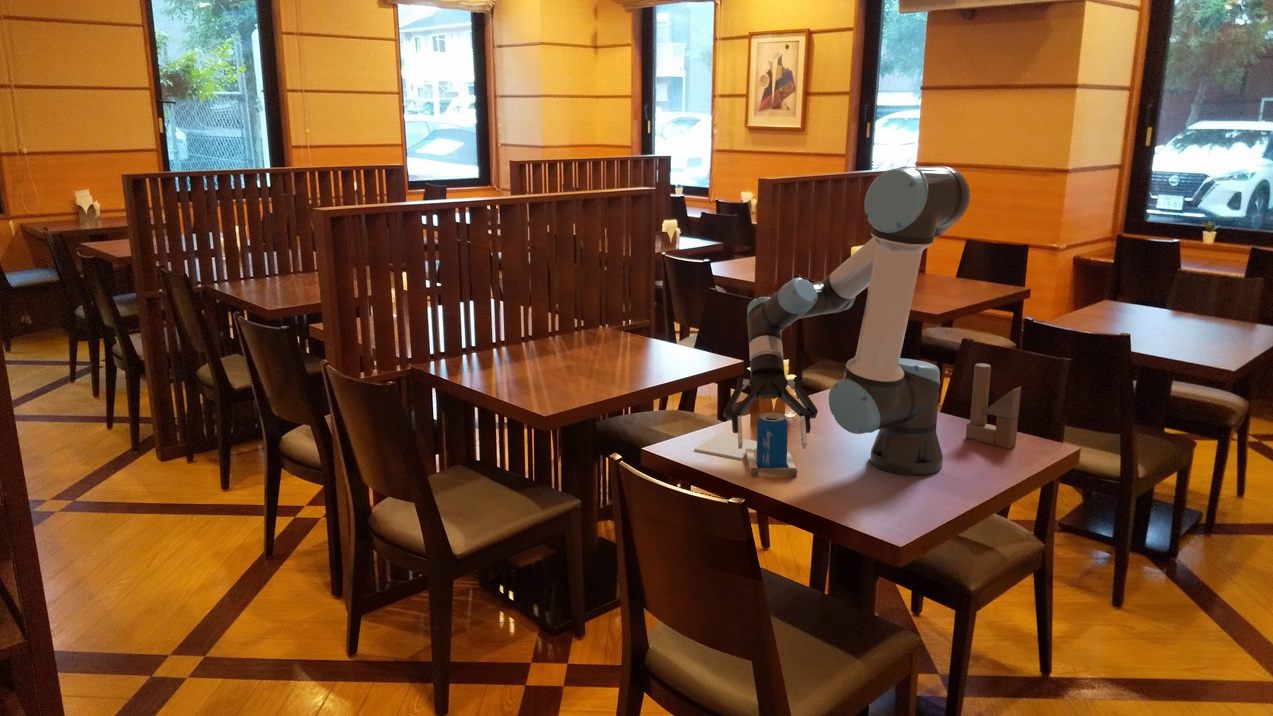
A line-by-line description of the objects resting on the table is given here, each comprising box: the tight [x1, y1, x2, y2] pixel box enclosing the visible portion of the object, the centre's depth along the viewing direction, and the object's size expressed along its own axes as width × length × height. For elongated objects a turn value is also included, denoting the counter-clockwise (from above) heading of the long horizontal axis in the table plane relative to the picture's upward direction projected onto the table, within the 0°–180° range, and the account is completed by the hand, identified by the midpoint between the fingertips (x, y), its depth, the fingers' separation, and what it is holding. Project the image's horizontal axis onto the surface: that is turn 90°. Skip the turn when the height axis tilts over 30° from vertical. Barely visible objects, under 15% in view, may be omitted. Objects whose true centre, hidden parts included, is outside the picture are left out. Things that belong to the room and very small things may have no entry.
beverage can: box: [756, 412, 789, 468], centre depth 193 cm, size 6×6×12 cm
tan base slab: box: [745, 448, 798, 478], centre depth 196 cm, size 14×10×2 cm
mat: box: [693, 433, 757, 461], centre depth 208 cm, size 12×12×1 cm
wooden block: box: [965, 362, 1022, 450], centre depth 207 cm, size 4×11×18 cm, turn 40°
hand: (772, 446), depth 191 cm, fingers open, 13 cm apart
